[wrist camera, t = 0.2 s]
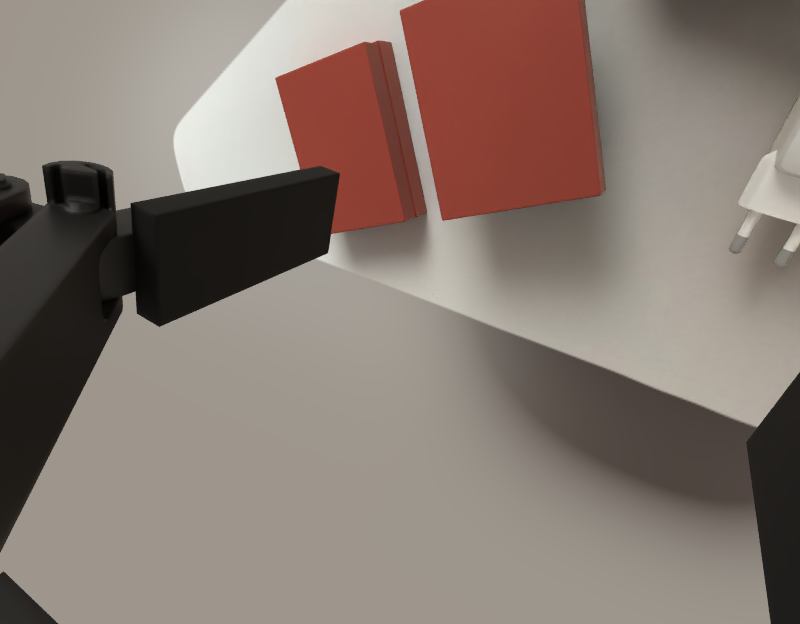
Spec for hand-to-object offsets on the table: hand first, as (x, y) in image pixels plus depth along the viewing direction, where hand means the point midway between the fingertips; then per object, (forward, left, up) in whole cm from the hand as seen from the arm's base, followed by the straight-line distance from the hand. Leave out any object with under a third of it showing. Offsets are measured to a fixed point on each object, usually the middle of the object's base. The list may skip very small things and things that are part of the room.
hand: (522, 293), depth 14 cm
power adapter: (+2, +10, -28) cm, 29 cm away
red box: (-6, -21, -28) cm, 36 cm away
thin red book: (-6, -6, -22) cm, 24 cm away
